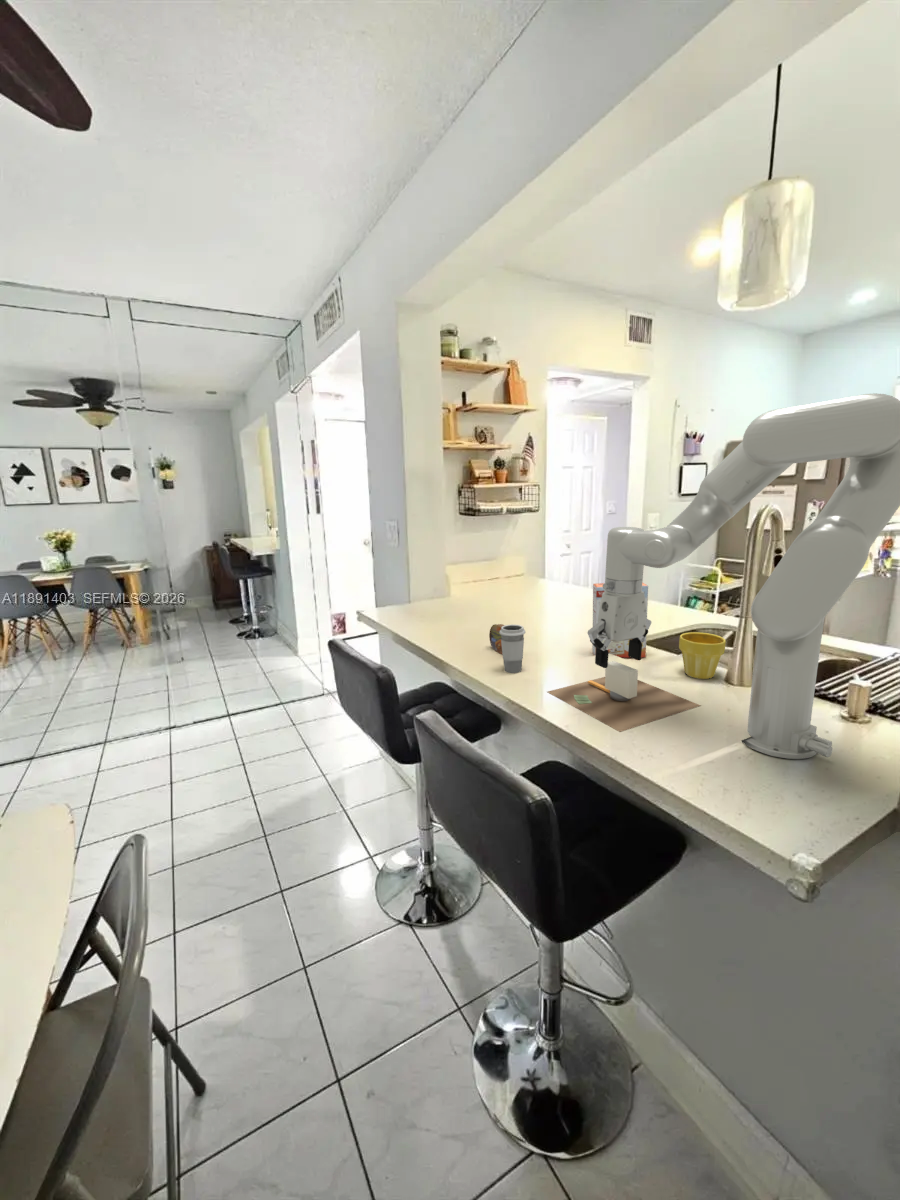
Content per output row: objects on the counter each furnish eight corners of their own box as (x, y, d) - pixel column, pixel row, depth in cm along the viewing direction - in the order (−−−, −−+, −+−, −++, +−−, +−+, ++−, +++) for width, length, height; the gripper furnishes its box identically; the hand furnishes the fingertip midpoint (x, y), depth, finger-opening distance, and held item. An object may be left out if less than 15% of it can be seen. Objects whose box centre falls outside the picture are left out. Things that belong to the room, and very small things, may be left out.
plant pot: (724, 671, 129) (727, 634, 126) (720, 685, 120) (723, 646, 118) (681, 665, 134) (683, 629, 132) (673, 677, 126) (676, 640, 124)
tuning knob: (639, 700, 109) (641, 669, 108) (624, 704, 107) (625, 673, 106) (596, 680, 121) (597, 652, 120) (582, 684, 119) (582, 655, 118)
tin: (488, 647, 156) (488, 621, 154) (497, 646, 157) (496, 620, 155) (514, 661, 142) (514, 633, 140) (524, 659, 144) (523, 631, 142)
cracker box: (640, 651, 146) (643, 581, 142) (646, 658, 140) (649, 585, 136) (591, 652, 148) (592, 582, 143) (594, 658, 142) (596, 586, 137)
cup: (510, 676, 131) (510, 632, 128) (494, 669, 136) (493, 627, 134) (531, 670, 135) (530, 627, 132) (514, 663, 140) (514, 622, 138)
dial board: (700, 712, 107) (701, 705, 106) (619, 739, 97) (619, 731, 96) (620, 678, 127) (620, 672, 126) (546, 697, 117) (546, 691, 117)
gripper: (604, 594, 99) (600, 675, 103) (666, 584, 107) (659, 660, 111) (579, 587, 106) (575, 663, 110) (639, 579, 113) (633, 650, 117)
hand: (618, 662), depth 110 cm, fingers open, 9 cm apart
